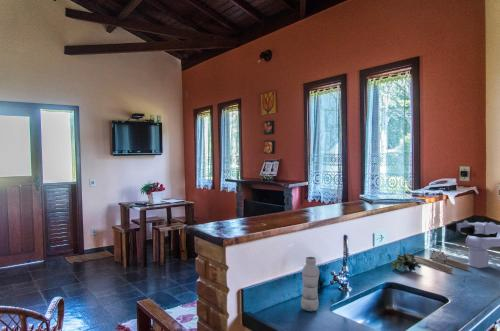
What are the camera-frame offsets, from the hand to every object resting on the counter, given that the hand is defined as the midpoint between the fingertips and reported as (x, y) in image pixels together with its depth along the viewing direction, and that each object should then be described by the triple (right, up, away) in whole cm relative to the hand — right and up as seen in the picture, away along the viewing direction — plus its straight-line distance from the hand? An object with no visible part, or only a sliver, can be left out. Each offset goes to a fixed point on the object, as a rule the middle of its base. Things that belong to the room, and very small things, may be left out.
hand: (453, 228), depth 188 cm
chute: (-3, -21, +9) cm, 23 cm away
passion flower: (-26, -22, -2) cm, 34 cm away
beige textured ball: (-3, -22, +9) cm, 24 cm away
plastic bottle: (-82, -23, -48) cm, 98 cm away
